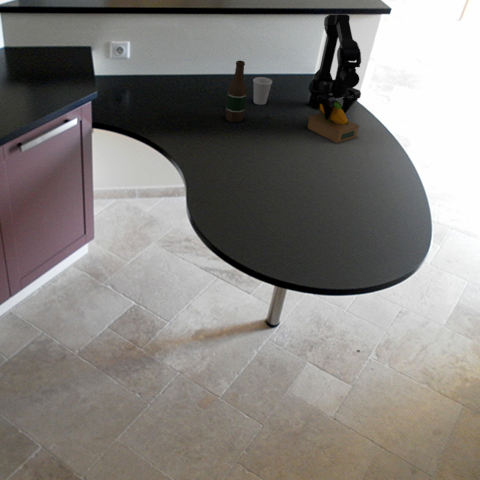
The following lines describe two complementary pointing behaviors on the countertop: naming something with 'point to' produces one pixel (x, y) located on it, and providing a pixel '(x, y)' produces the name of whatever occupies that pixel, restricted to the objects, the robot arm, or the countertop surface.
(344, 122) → the corn
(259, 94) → the dixie cup
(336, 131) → the takeaway box
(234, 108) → the beer bottle
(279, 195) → the countertop surface
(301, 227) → the countertop surface
